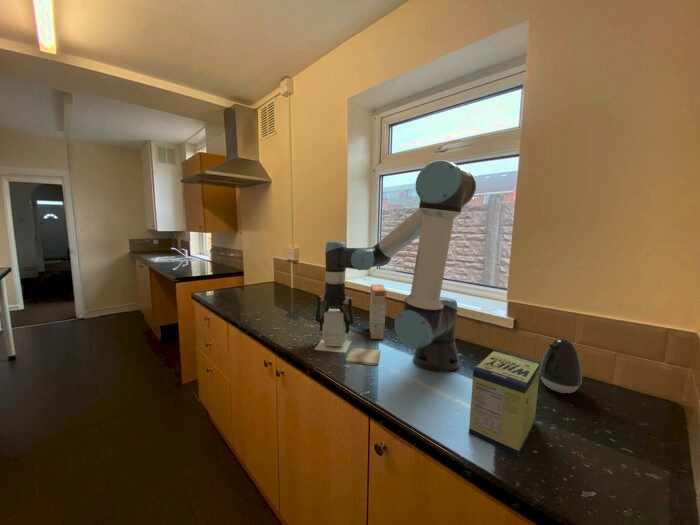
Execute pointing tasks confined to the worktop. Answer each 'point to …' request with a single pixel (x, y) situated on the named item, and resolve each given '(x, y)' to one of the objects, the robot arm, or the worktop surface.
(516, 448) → the protein box
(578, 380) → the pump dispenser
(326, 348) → the tile
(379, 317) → the cracker box
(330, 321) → the supplement box
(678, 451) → the worktop surface
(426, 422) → the worktop surface
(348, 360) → the oak coaster
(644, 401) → the worktop surface
